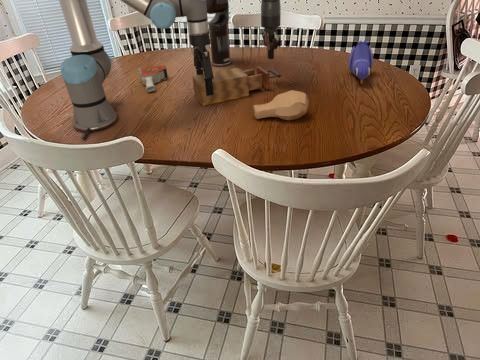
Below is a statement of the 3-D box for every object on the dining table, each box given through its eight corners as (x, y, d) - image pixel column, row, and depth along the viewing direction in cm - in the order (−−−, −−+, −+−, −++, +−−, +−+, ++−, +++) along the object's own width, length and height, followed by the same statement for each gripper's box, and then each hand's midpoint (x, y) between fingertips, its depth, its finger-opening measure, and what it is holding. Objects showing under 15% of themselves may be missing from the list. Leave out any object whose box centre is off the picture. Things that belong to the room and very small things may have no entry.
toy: (346, 78, 167) (350, 87, 144) (349, 39, 160) (352, 43, 138) (368, 77, 164) (375, 86, 142) (372, 38, 158) (379, 42, 135)
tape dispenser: (151, 97, 154) (180, 78, 166) (148, 85, 150) (178, 68, 163) (122, 88, 161) (152, 71, 174) (119, 77, 158) (150, 61, 170)
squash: (312, 121, 125) (311, 99, 119) (256, 131, 127) (252, 110, 121) (306, 103, 133) (305, 82, 126) (254, 113, 134) (250, 93, 128)
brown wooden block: (239, 86, 154) (238, 67, 149) (249, 95, 146) (248, 75, 141) (194, 95, 149) (192, 76, 144) (202, 105, 141) (199, 85, 136)
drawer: (271, 78, 157) (271, 63, 154) (281, 85, 150) (281, 70, 146) (219, 89, 151) (218, 74, 147) (227, 97, 143) (226, 81, 140)
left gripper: (218, 38, 123) (224, 98, 135) (199, 25, 140) (205, 79, 153) (198, 42, 121) (205, 102, 133) (181, 27, 138) (189, 82, 151)
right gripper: (287, 15, 132) (286, 61, 143) (272, 9, 143) (272, 53, 153) (269, 17, 130) (269, 64, 141) (254, 11, 140) (256, 55, 151)
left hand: (205, 89), depth 143 cm, fingers closed on brown wooden block, 11 cm apart
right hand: (270, 58), depth 147 cm, fingers closed
